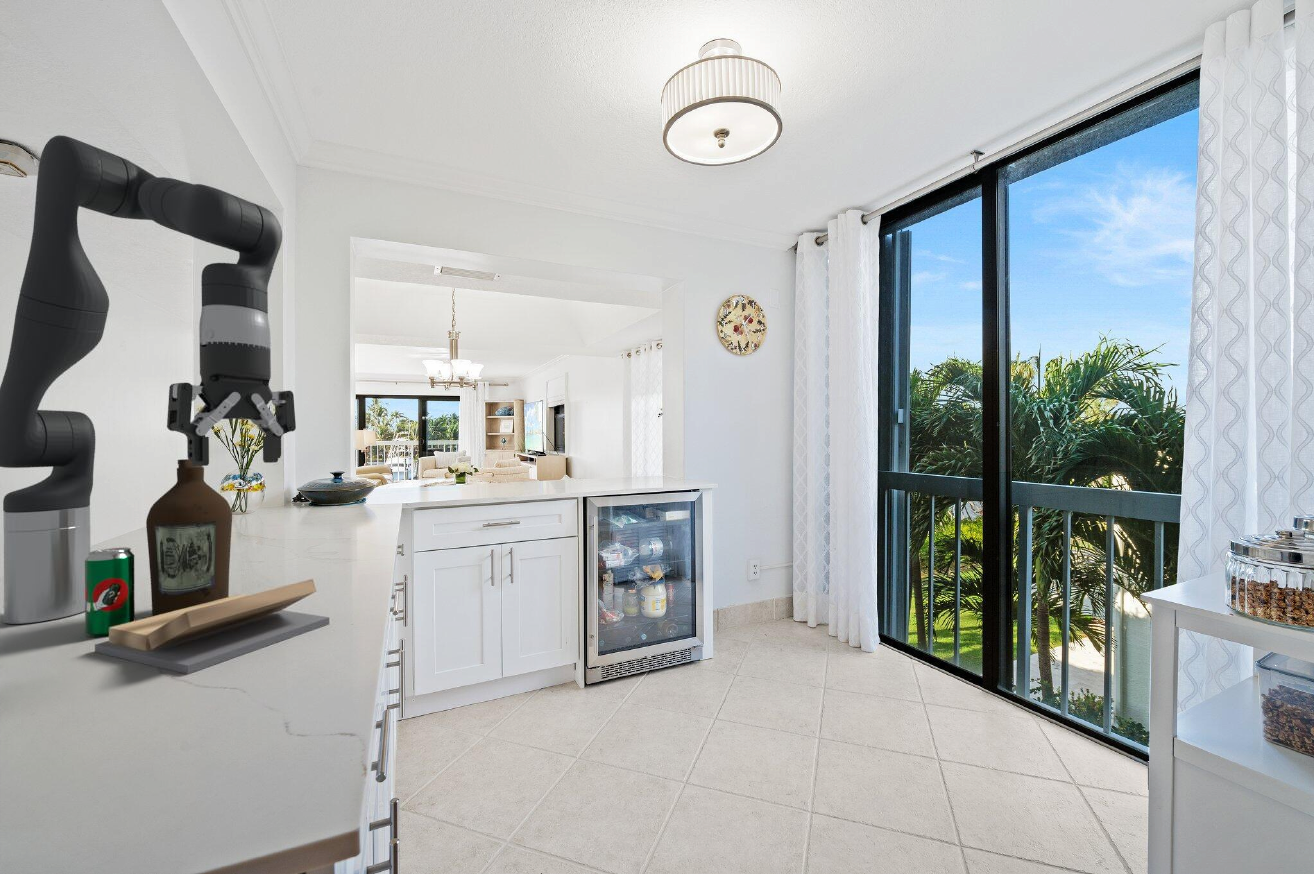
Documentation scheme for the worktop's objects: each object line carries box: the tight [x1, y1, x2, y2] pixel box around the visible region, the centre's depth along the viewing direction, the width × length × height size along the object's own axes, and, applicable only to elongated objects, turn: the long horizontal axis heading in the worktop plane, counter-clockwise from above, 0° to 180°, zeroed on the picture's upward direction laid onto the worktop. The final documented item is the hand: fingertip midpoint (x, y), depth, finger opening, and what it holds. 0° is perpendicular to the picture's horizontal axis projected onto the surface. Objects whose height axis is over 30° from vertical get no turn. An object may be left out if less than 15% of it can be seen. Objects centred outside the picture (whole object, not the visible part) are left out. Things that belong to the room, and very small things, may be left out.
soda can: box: [84, 547, 136, 638], centre depth 77 cm, size 5×5×12 cm
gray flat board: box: [94, 609, 330, 675], centre depth 75 cm, size 20×18×1 cm
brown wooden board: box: [148, 578, 317, 650], centre depth 73 cm, size 9×16×2 cm, turn 159°
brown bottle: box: [145, 458, 233, 617], centre depth 87 cm, size 11×11×25 cm
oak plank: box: [108, 593, 250, 651], centre depth 76 cm, size 8×16×2 cm, turn 159°
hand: (237, 464), depth 71 cm, fingers open, 8 cm apart
